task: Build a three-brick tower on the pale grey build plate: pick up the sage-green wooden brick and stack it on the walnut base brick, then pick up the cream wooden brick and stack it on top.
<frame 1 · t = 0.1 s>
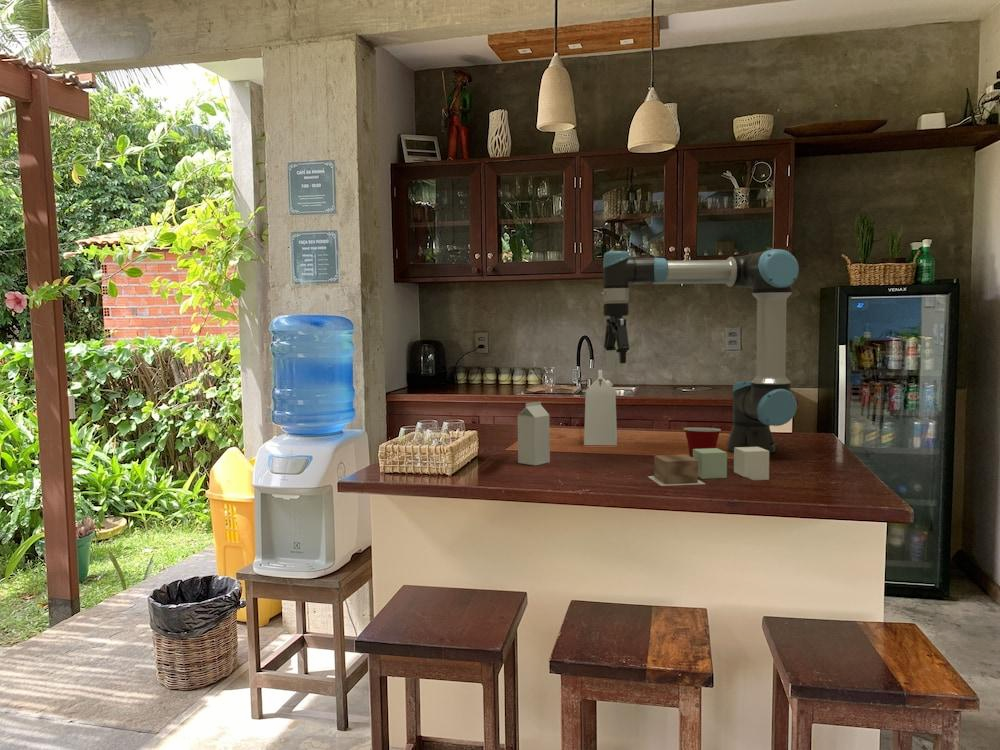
hand: (616, 372, 234), 28 cm above the table, tool pointing down, fingers open, 13 cm apart
cream brick: (751, 477, 213), on the table
milk: (600, 443, 273), on the table
walnut base brick: (675, 480, 206), point 1 cm above the table, touching build plate
build plate: (675, 483, 206), on the table
milk carton: (534, 463, 239), on the table
plastic cup: (702, 468, 228), on the table
sage brick: (709, 479, 212), on the table
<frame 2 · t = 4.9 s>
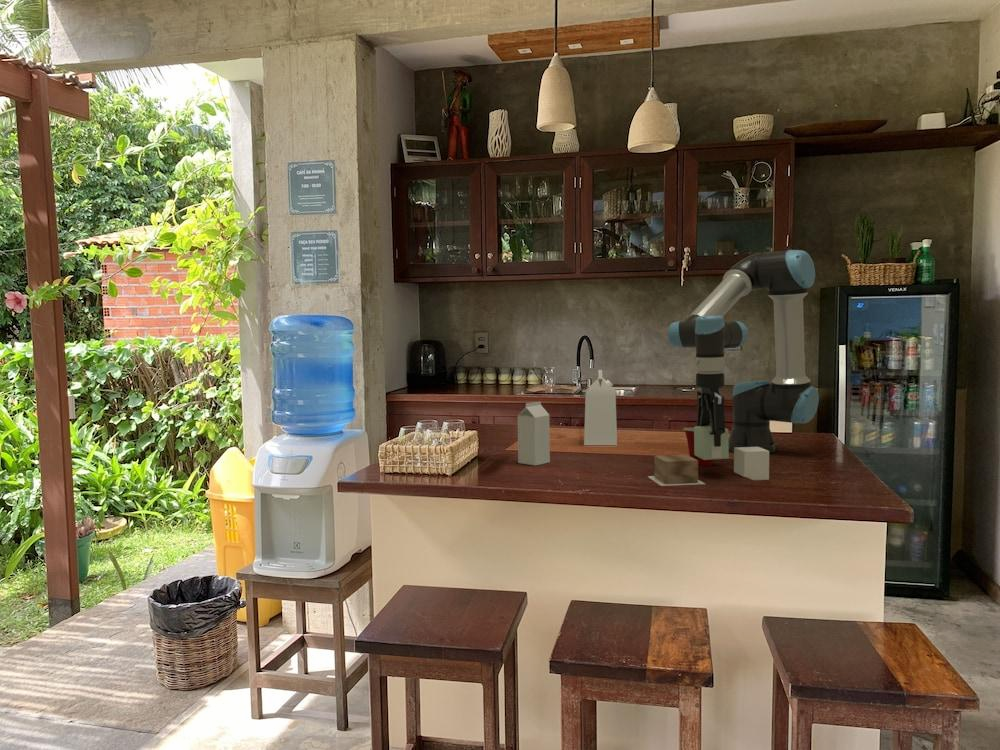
hand: (710, 455, 212), 7 cm above the table, tool pointing down, fingers closed on sage brick, 7 cm apart
sage brick: (711, 456, 212), point 6 cm above the table, touching gripper
everything else where it was.
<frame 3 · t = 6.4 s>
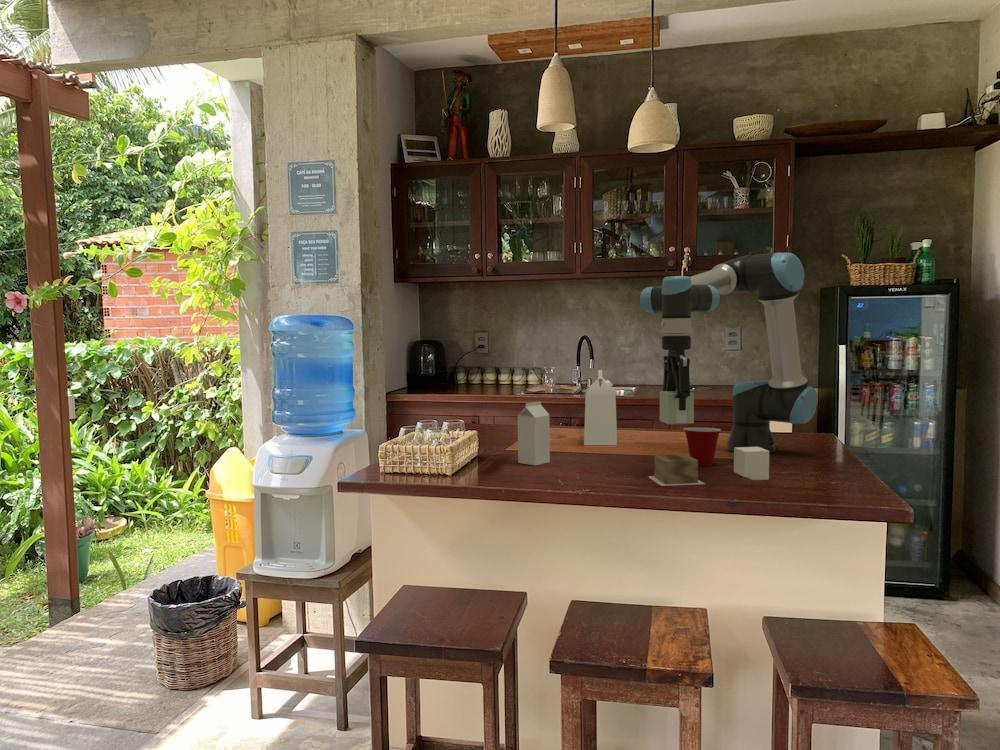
hand: (676, 420, 205), 17 cm above the table, tool pointing down, fingers closed on sage brick, 7 cm apart
sage brick: (676, 421, 205), point 17 cm above the table, touching gripper
everything else where it was.
when the fingers open (8 cm above the table, at t = 8.4 s): sage brick stays where it is, resting on walnut base brick.
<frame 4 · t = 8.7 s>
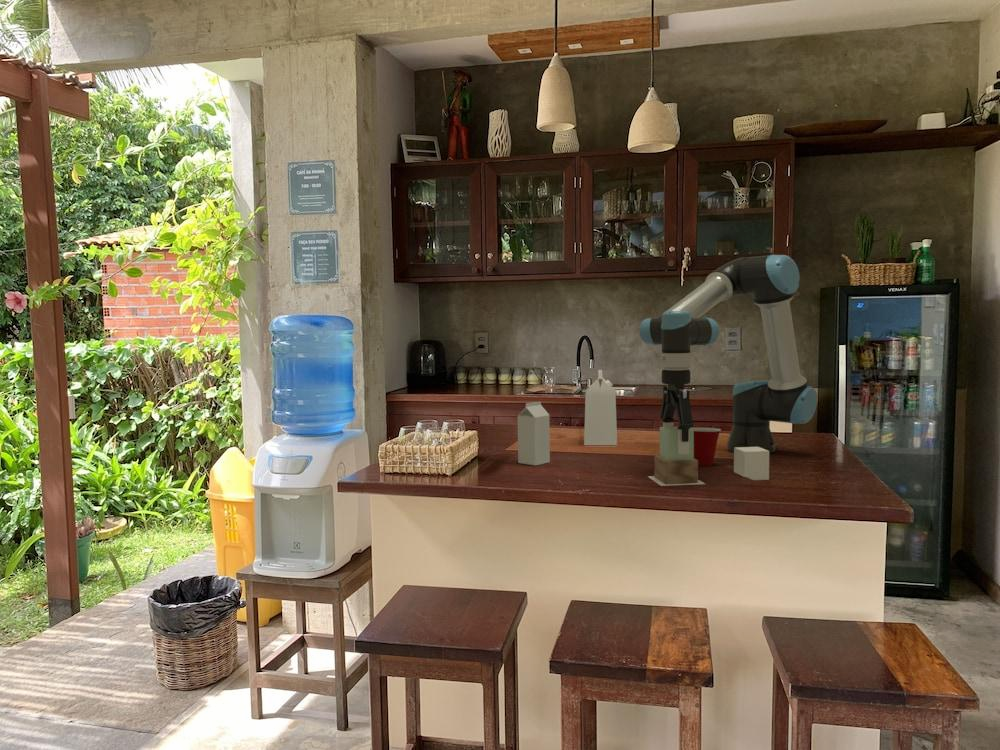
hand: (675, 449, 206), 9 cm above the table, tool pointing down, fingers open, 11 cm apart
walnut base brick: (675, 480, 206), point 1 cm above the table, touching build plate, sage brick
sage brick: (676, 457, 206), point 7 cm above the table, touching walnut base brick
everything else where it was.
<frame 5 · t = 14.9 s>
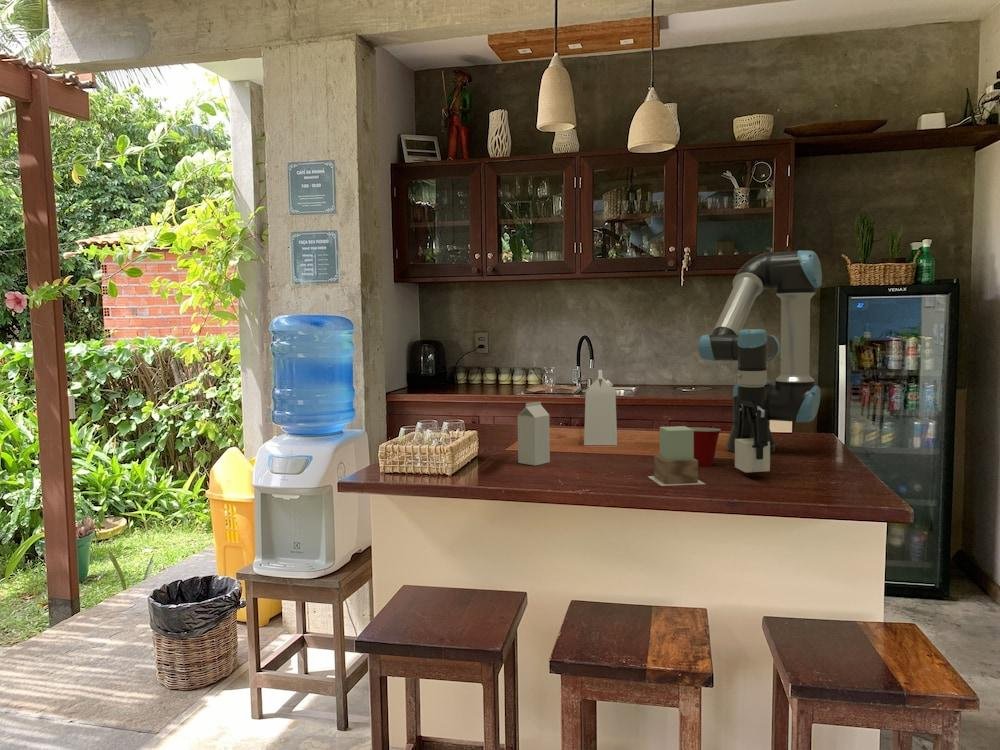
hand: (751, 467, 213), 3 cm above the table, tool pointing down, fingers closed on cream brick, 7 cm apart
cream brick: (752, 469, 213), point 2 cm above the table, touching gripper
everything else where it was.
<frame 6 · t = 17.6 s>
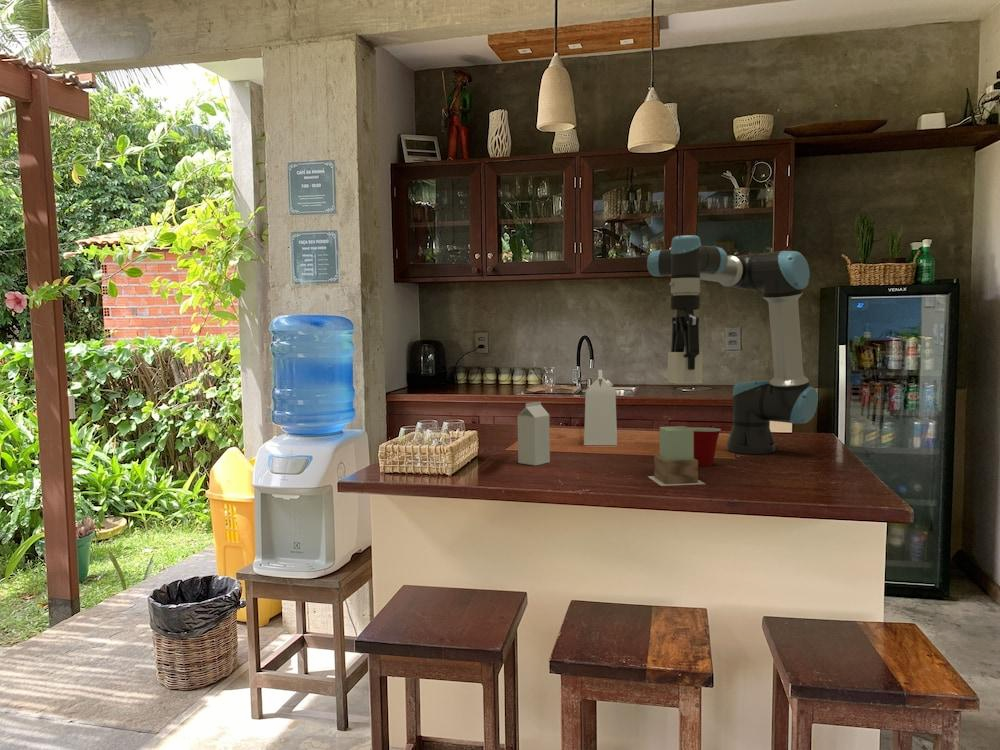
hand: (684, 380, 205), 28 cm above the table, tool pointing down, fingers closed on cream brick, 7 cm apart
cream brick: (684, 382, 205), point 27 cm above the table, touching gripper
everything else where it was.
when the fingers open (16 cm above the table, at t = 20.3 s): cream brick stays where it is, resting on sage brick.
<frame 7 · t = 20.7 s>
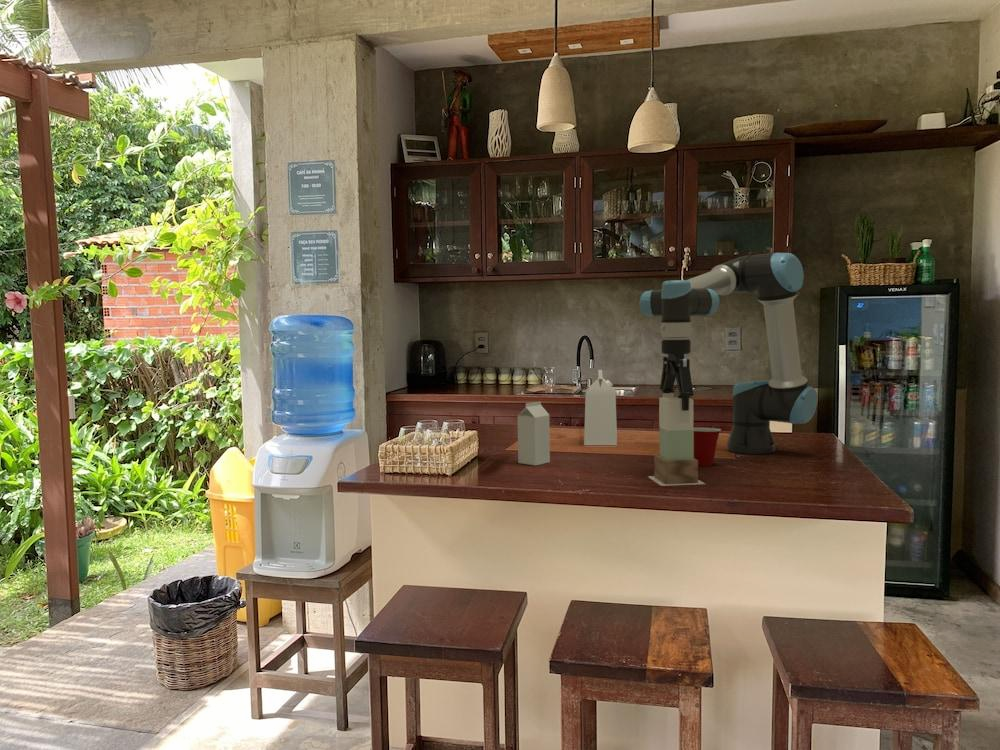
hand: (675, 419, 205), 17 cm above the table, tool pointing down, fingers open, 12 cm apart
cream brick: (676, 428, 205), point 15 cm above the table, touching sage brick
sage brick: (676, 457, 206), point 7 cm above the table, touching cream brick, walnut base brick
everything else where it was.
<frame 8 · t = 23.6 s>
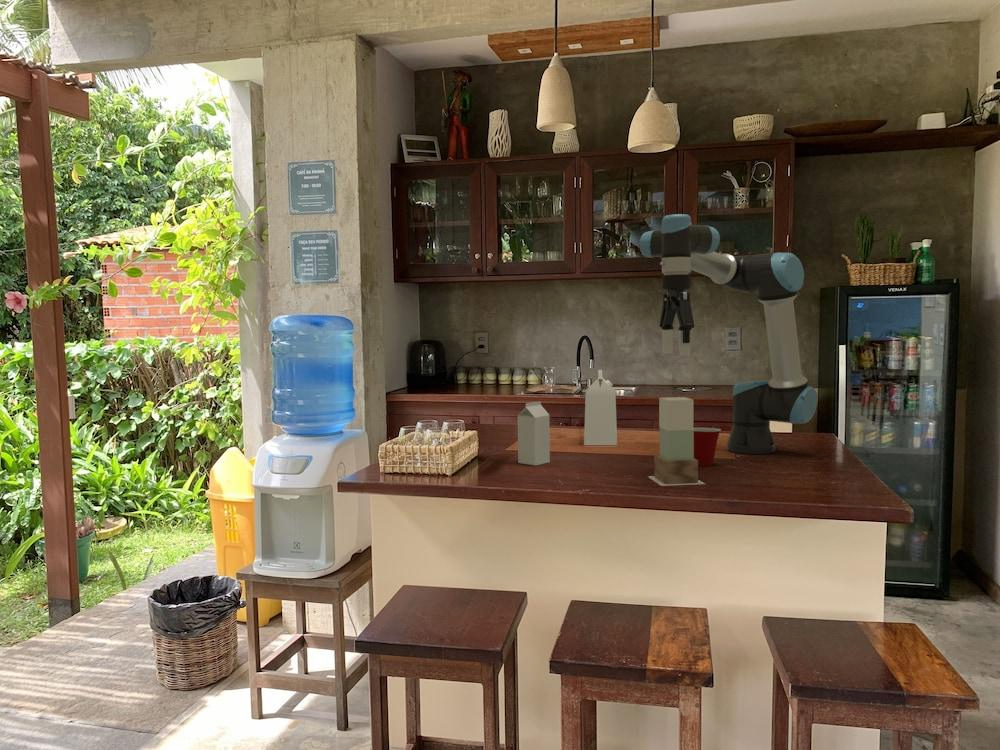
hand: (675, 354, 204), 35 cm above the table, tool pointing down, fingers open, 13 cm apart
nothing on the table moved.
at the end: sage brick 0.1 cm off-centre on the walnut base brick, point 6.0 cm above the walnut base brick's base; cream brick 0.1 cm off-centre on the sage brick, point 8.0 cm above the sage brick's base; cream brick tilted 0° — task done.
